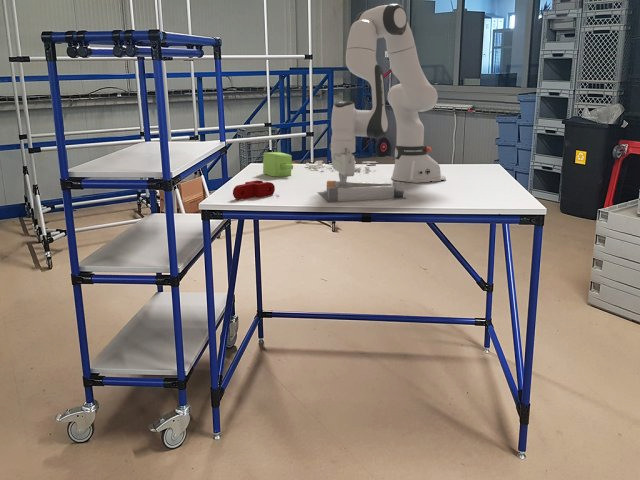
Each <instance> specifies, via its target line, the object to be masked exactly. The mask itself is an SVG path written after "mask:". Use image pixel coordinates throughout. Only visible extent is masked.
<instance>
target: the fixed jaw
mask: <svg viewBox="0 0 640 480" xmlns="http://www.w3.org/2000/svg"><path fill="white" fill-rule="evenodd" d="M404 192H405V181H393V182H391V186H370V187H346V188H337V187H328V196H327V200H328V201H329V202H333V203H339V202H338V201H354V202H360V201H359V200H375V201H381V200H380V199H394V198H403V197H405V196H404V195H405V193H404Z"/></svg>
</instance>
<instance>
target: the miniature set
mask: <svg viewBox="0 0 640 480" xmlns="http://www.w3.org/2000/svg"><path fill="white" fill-rule="evenodd" d="M323 162H324V161H323V160H316V161H315V162H314V163H310V162H306V163H305V165H306V166H307V167H308V170H310V171H312V172H315V171H316V172H317V171H319V167H321V168H322V169H324V168H331V171H333V172H334V170H335V169H333V166H332V161H330V160H328V161H327V162H328V165H329V166H327V165H326V163H323ZM356 163H357V162H356V160H355V158H354V168H355V172H362V168H361V167H362V166H363V164H366V166H364V171H365V172H370V167H375V166H377V164H376V163H375V161H362V164H357V165H356ZM371 163H375V164H371Z"/></svg>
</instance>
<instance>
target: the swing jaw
mask: <svg viewBox="0 0 640 480" xmlns="http://www.w3.org/2000/svg"><path fill="white" fill-rule="evenodd" d="M370 186H392V182H371V181H370V182H369V181H346V182H341V181H340V180H339V181H336V180H327V181H326V192H327V193H328V187H337V188H346V187H370Z"/></svg>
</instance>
